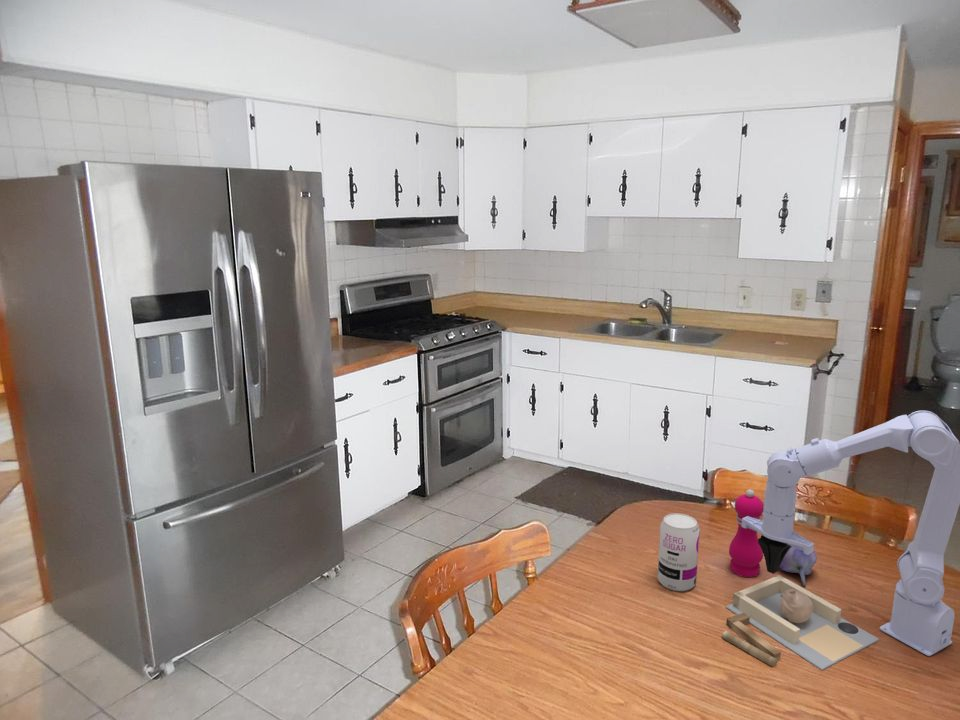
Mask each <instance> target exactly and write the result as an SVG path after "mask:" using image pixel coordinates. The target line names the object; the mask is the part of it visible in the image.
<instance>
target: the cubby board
mask: <svg viewBox="0 0 960 720" xmlns="http://www.w3.org/2000/svg"><path fill="white" fill-rule="evenodd" d="M789 589H796V590H799V591H801V592H802V593H804V594H805V595H806V596H808V597H809V598H810V599H811V601H812V603H813V611H812V614H811V616H810V618H809V619H808V620H807V621H805V622H803V623H798V624H797V623H792V622H790V621H789V620H788V619H787V618H786V617H785V616H784V615H783V614H782V613H781V610H780V598H781V595H782V594H783V593H784V592H785V591H786V590H789ZM732 597H733V600H732V603H731V604H728V605H726V606H725V609H727V610H729V611H730V612H731V613H733V614H734V615H735V616H736V615H739V614H742V613H745V614H746V615H747V616H749V617H750V619H749V624H750V625H752V626H754V627H755V628H756V629H758V630H760V631H761V632H762V633H764V634H766V635H767V636H768V637H770V638H771V639H773V640H775V641H776V642H778V643H780V644H781V645H782V646H783V647H785V648H787V649H789V650H790V651H792V652H793V653H795V654H796V655H797V656H799V657H801V658H802V659H804V660H806V662H808V663H810V664H811V665H812V666H815V667H816V668H818V669H819V670H821V671H824V670H825V669H828V668H830V667H832V666H833V665H836V664H837V663H839V662H840V661H842V660H843V661H844V659H846V658H848V657H851V656H852V655H854V654H856V653H858V652H860V651H862V650H863V649H865V648H867V647H869V646H871V645H873V644H875V643H877V642H879V641H880V638H878V637H876V636H875V635H873V634H871V633H869V632H868V631H866V630H865V629H862V628H861V627H858V626H857V625H856V624H853V623H851V622H850V621H848V620H846V619H845V618H843V617H842V611H843V609H841V608H840V607H838V606H836V605H834V604H833V603H830V601H827V600H825V599H824V598H822V597H820V596H818V595H816V594H814V593H813V592H811V591H809V590H808V589H806V588H805V587H802V586H800V585H798V584H797V583H795V582H792V581H791V580H789V579H787V578H785V577H784V576H782V575H780V574H778V575H775V576H773V577H771V578H769V579H767V580H764V581H761V582H758V583H756V584H753V585H751V586H748V587H746V588H744V589H741V590H739V591H736V592H734V593H733V596H732Z"/></svg>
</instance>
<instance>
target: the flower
mask: <svg viewBox="0 0 960 720" xmlns="http://www.w3.org/2000/svg"><path fill="white" fill-rule="evenodd" d="M817 558H818V556H817V553H816V552H815V550H813V552H812V553H811V554H809V555H807V554H805V553H803V551H802V550H799V549H797V548H795V547H791V548H790V549H789V551H788V552H787V553H786V555H785V556H784V558H783V560H782V562H781V565H780V567H779V569H780V570H782V571H783V572H787V573H794V574H799V576H800V579H801V582H802V585H803V588H805V587H806V576H808V575H811V574H812V570H813V569H812V568H813V567H815V564H816V563H817Z"/></svg>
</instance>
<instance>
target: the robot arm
mask: <svg viewBox="0 0 960 720" xmlns="http://www.w3.org/2000/svg"><path fill="white" fill-rule="evenodd" d="M888 447H889V448H891V449H895V450H898V451H901V452H904V453H906V454H907V453H909V447H911V449H912V450H913V452H914V453H915V454H917V455H918V456H919V457H921V458H922V459H924V460H926V461H928V462H930V464H931V465H932V467H934V471H933V475H932V477H931V481H930V484H929V487H928V491H927V494H926V498H925V502H924V504H923V509H922V511H921V515H920V518H919V522H918V524H917V527H916V531H915V535H914V539H913V540H912V541H910V542H909V543H908V545H907V549H906V551H904V553H902V554H901V555H900V556H899V558H898V559H897V563H896V565H897V566H896V567H897V569H898V571H899V573H900V579H899V580H898V581H897V583H895V590H894V595H893V603H892V609H891V615H890V621H889V622H886V623H884V624H883V625H880V626H879V630H880V631H882V632H883V633H885V634H887V635H889V636H891V637H892V638H894V639H896V640H898V641H899V642H902V643H903V644H905V645H907V646H908V647H911V648H913V649H915V650H916V651H918V652H919V653H922V654H924V655H926V656H927V657H931V656H932V655H934V654H936V653H938V652H940V651H941V650H943V649H945V648H946V647H948V646H950V645H952V644H953V641H952V634H953V628H954V621H955V617H956V615H955V611H954V609H953V608H952V607H950V606H948V605H947V604H946V603H944V602H943V600H942V598H944V595H945V586H944V583H943V578H944V575H945V565H944V564H945V561H944V559H945V558H944V555H945V552H946V549H947V547H948V543H949V539H950V536H951V533H952V530H953V526H954V523H955V520H956V517H957V515H958V511H959V508H960V441H959V439H958V438H957V437H956V436H955V435H954V433H953V432H952V430H951V428H950V426H948V424H947V423H946V422H944V420H942V418H940V416H938V415H937V414H936V413H934V412H933V411H929V410H917V411H913V412H911V413H910V414H908V415H907V414H902V415H899V416H896V417H894V418H892V419H890V420H888V421H885V422H883V423H881V424H878V425H876V426H873V427H870V428H868V429H866V430H863V431H860V432H857V433H855V434H852V435H850V436H847V437H844V438H842V439H840V440H836V441H834V440H831V439H828V438H823V439H819V438H818V437H816V438H813V439H811V441H810V443H808V444H805V445H802V446H799V447H798V446H797V447H796V448H792V447H789V448H786V450H785V451H784V450H777V451H775V452H774V453H772V454H771V455H770V456H769V458H768V459H767V461H766V464H767V465H766V466H767V470H766V471H767V479H766V485H765V490H764V497H763V498H764V500H763V506H764V510H763V513H762V519H760V520H759V519H755V518H751V517H749V516H747V517H745V518H743V519H742V526H741V527H743V528H749V529H752V530H754V531H757V533H759V534H761V536H760V537H758V544H759V545H760V547H761V549H762V552H763V557H764V561H765V565H766V571H767V572H768V573H771V574H773V575H774V574H775V573H778V572H779V569H780V565H781V562H782V560H783V558H784V556H785V555H786V553H787V552H788V551H789V549H790V548H791V547H795V548H797V549H799V550H802V551H803V553H805V554H807V555H809V554H811V553H813V552H814V551H815V550H814V548H815V543H814V542H812V541H810V540H808V539H806V538H805V537H803V536H802V535H800V534H799V533H797V532H796V531H794V522H795V510H796V502H797V484H798V483H799V482H800V479H802V478H806V477H810V476H814V475H817V474H820V473H823V472H827V471H830V470H834V469H835V468H838V467H840V464H841V462H842V460H843V459H846V458H850V457H854V456H857V455H861V454H865V453H868V452H873V451H876V450H880V449H884V448H888Z"/></svg>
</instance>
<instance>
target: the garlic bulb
mask: <svg viewBox="0 0 960 720" xmlns="http://www.w3.org/2000/svg"><path fill="white" fill-rule="evenodd" d="M780 610H781V613H782V614H783V615H784V616H785V617H786V618H787V619H788V620H789V621H790V622H792V623H797V624H798V623H803V622H805V621H807V620H808V619H809V618H810V616H811V614H812V611H813V603H812V601H811V599H810V598H809V597H808V596H806V595H805V594H804V593H802V592H801V591H799V590H796V589H789V590H786V591H785V592H784V593H783V594H782V595H781V598H780Z"/></svg>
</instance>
